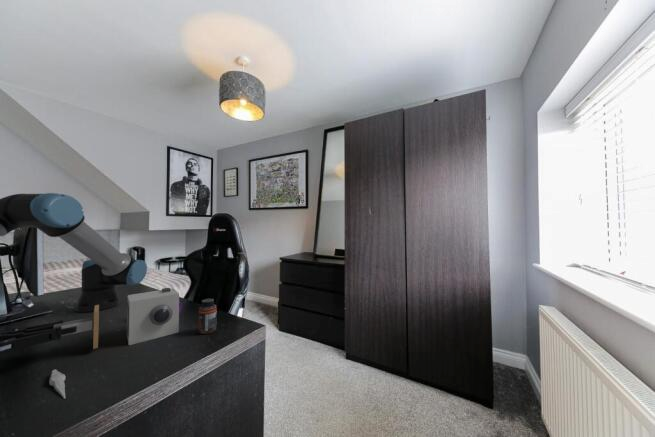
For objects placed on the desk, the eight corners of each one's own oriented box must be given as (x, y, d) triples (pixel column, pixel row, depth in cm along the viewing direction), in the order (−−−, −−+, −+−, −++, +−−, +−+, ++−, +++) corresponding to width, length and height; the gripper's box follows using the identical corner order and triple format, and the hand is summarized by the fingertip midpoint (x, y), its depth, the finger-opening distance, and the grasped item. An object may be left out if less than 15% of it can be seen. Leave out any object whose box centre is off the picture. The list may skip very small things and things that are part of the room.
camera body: (126, 335, 85) (126, 292, 86) (173, 324, 95) (173, 285, 95) (128, 348, 76) (129, 300, 77) (180, 334, 86) (180, 291, 86)
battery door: (55, 348, 74) (56, 311, 74) (98, 338, 80) (99, 304, 80) (50, 359, 67) (51, 319, 68) (97, 347, 74) (98, 311, 74)
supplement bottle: (195, 331, 88) (196, 300, 89) (212, 326, 93) (212, 296, 93) (201, 336, 84) (202, 303, 85) (219, 330, 89) (219, 299, 89)
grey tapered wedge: (45, 378, 62) (46, 370, 62) (61, 373, 64) (61, 365, 64) (55, 406, 53) (56, 397, 53) (73, 399, 55) (73, 390, 55)
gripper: (-27, 352, 66) (93, 327, 82) (-55, 379, 54) (91, 344, 70) (-26, 324, 66) (93, 305, 82) (-54, 345, 55) (91, 318, 71)
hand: (92, 323), depth 76 cm, fingers closed on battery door, 2 cm apart
